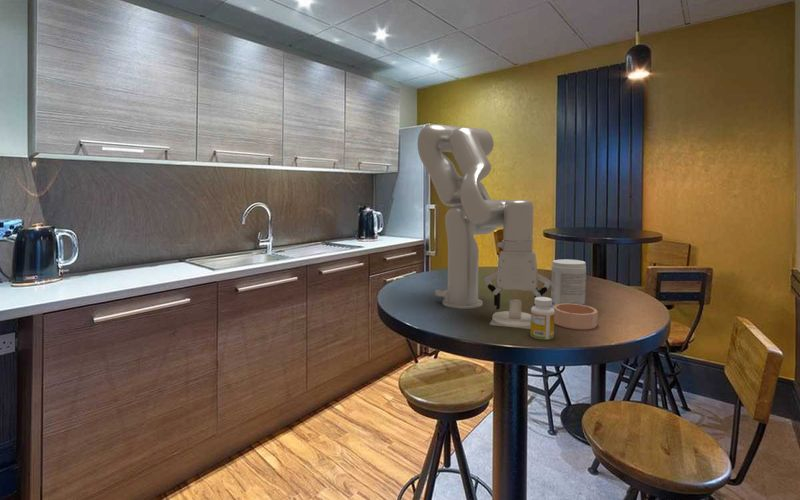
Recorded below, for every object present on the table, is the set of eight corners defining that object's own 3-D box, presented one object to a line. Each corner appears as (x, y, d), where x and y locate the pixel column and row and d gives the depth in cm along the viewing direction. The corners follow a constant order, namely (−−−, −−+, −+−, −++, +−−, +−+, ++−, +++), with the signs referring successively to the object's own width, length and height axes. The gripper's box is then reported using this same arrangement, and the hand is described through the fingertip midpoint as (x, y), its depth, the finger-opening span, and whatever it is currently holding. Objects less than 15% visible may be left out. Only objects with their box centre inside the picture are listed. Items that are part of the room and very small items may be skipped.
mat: (489, 326, 103) (489, 324, 103) (495, 314, 114) (495, 312, 114) (537, 331, 99) (537, 329, 99) (538, 318, 110) (538, 316, 110)
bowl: (553, 328, 101) (553, 312, 101) (552, 317, 111) (553, 302, 110) (598, 333, 97) (599, 316, 97) (593, 321, 107) (594, 305, 107)
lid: (489, 324, 103) (490, 304, 102) (495, 312, 114) (495, 294, 114) (537, 329, 99) (538, 308, 98) (538, 316, 110) (539, 297, 109)
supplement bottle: (546, 333, 98) (548, 295, 97) (557, 341, 93) (559, 301, 91) (526, 334, 97) (527, 296, 96) (536, 342, 92) (537, 301, 91)
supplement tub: (590, 310, 118) (593, 261, 116) (572, 315, 113) (574, 265, 111) (562, 303, 126) (564, 258, 124) (543, 307, 121) (545, 260, 119)
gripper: (482, 247, 103) (482, 310, 105) (552, 249, 97) (550, 316, 99) (486, 244, 110) (486, 304, 112) (552, 246, 104) (550, 308, 106)
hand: (516, 309), depth 106 cm, fingers open, 9 cm apart
